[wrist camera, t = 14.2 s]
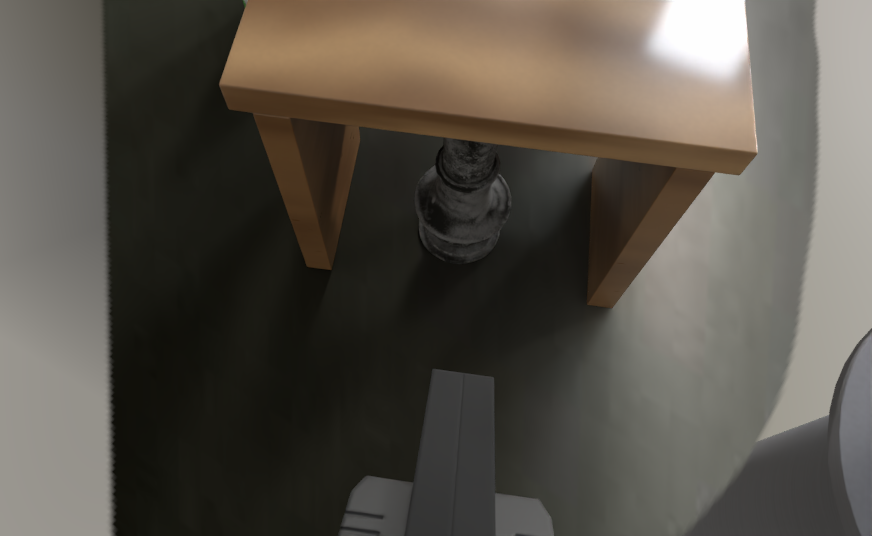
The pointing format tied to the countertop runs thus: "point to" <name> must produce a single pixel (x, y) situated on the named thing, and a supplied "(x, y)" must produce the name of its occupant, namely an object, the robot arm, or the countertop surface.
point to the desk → (504, 101)
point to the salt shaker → (462, 202)
